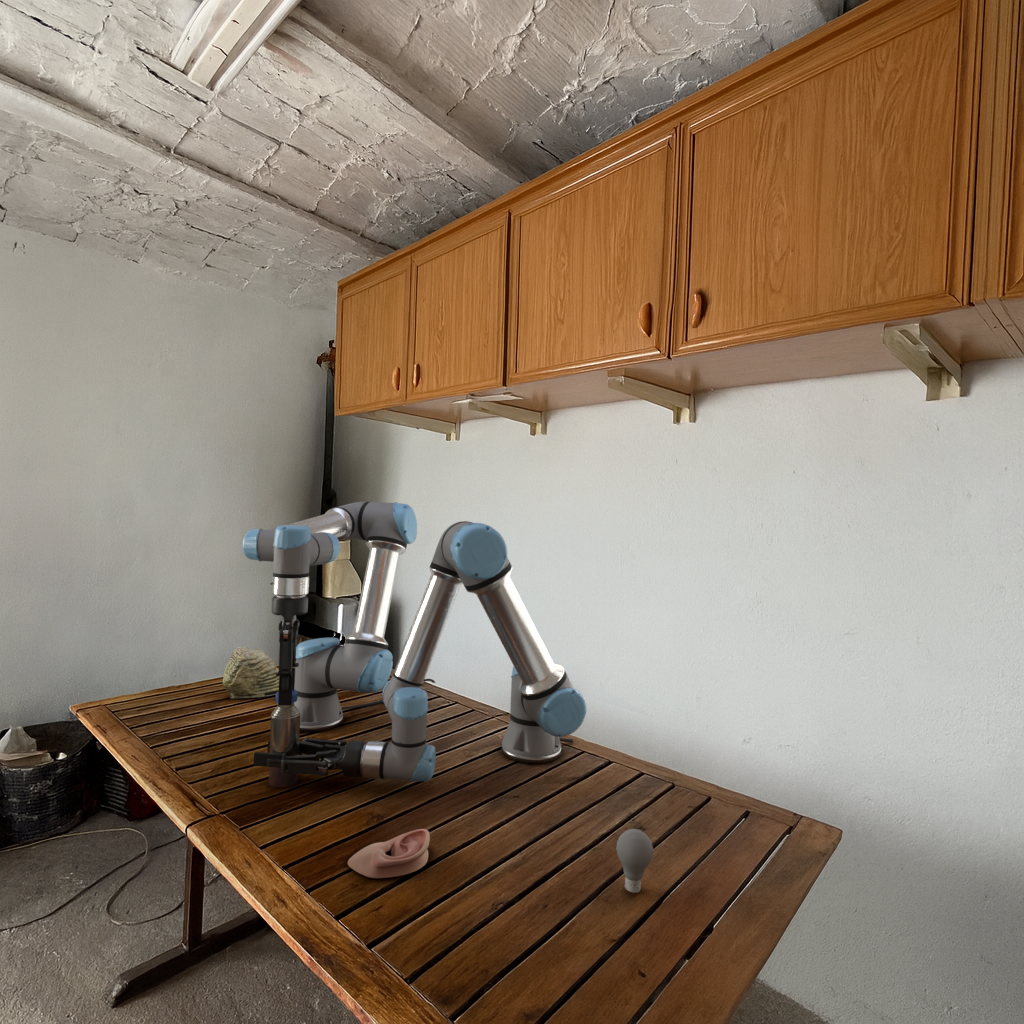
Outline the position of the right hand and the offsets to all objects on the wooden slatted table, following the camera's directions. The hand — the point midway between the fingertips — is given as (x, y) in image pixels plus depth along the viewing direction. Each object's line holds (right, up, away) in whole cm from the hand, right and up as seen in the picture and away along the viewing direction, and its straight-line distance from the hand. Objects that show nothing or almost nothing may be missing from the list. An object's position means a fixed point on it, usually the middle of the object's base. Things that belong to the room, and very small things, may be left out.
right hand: (261, 752), depth 140 cm
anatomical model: (+34, -8, -29) cm, 45 cm away
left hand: (+6, +12, 0) cm, 13 cm away
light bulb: (+76, -10, -35) cm, 84 cm away
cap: (+6, +13, 0) cm, 14 cm away
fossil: (-25, -4, +58) cm, 63 cm away
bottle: (+5, -6, 0) cm, 8 cm away
